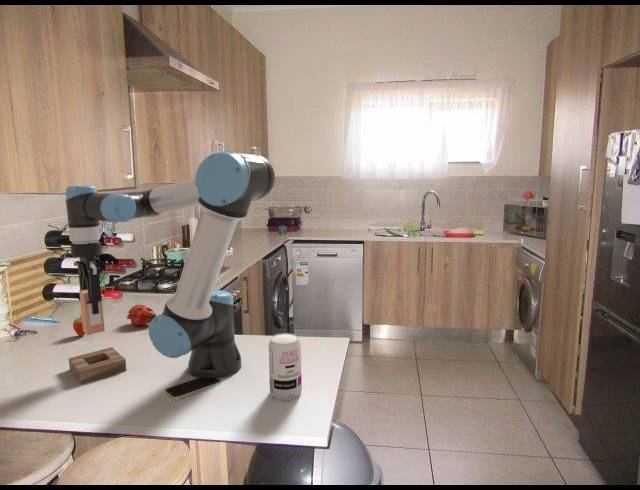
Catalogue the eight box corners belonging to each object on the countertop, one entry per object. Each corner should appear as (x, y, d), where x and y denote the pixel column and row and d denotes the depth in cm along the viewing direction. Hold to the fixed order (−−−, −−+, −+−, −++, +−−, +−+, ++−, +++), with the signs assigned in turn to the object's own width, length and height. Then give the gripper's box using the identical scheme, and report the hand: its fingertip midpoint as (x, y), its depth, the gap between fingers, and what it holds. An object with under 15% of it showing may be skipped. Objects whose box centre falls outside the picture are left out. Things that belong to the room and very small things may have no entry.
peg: (104, 331, 125) (101, 290, 123) (87, 335, 122) (83, 293, 120) (99, 327, 128) (96, 287, 126) (83, 330, 125) (79, 290, 123)
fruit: (79, 333, 157) (77, 311, 155) (93, 333, 156) (91, 311, 155) (70, 338, 151) (68, 316, 150) (85, 338, 151) (83, 316, 150)
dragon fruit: (131, 325, 168) (154, 334, 164) (116, 319, 161) (141, 328, 157) (142, 305, 171) (165, 313, 167) (128, 298, 164) (152, 306, 160)
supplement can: (285, 382, 119) (284, 330, 116) (308, 392, 113) (307, 337, 111) (263, 394, 112) (261, 339, 110) (286, 405, 107) (285, 347, 105)
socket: (126, 370, 127) (125, 359, 126) (80, 383, 119) (79, 371, 118) (113, 357, 135) (112, 347, 135) (69, 369, 127) (68, 358, 127)
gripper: (110, 243, 117) (116, 326, 121) (91, 236, 130) (98, 312, 134) (79, 247, 112) (87, 333, 116) (62, 239, 125) (70, 317, 129)
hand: (93, 321), depth 125 cm, fingers closed on peg, 4 cm apart
